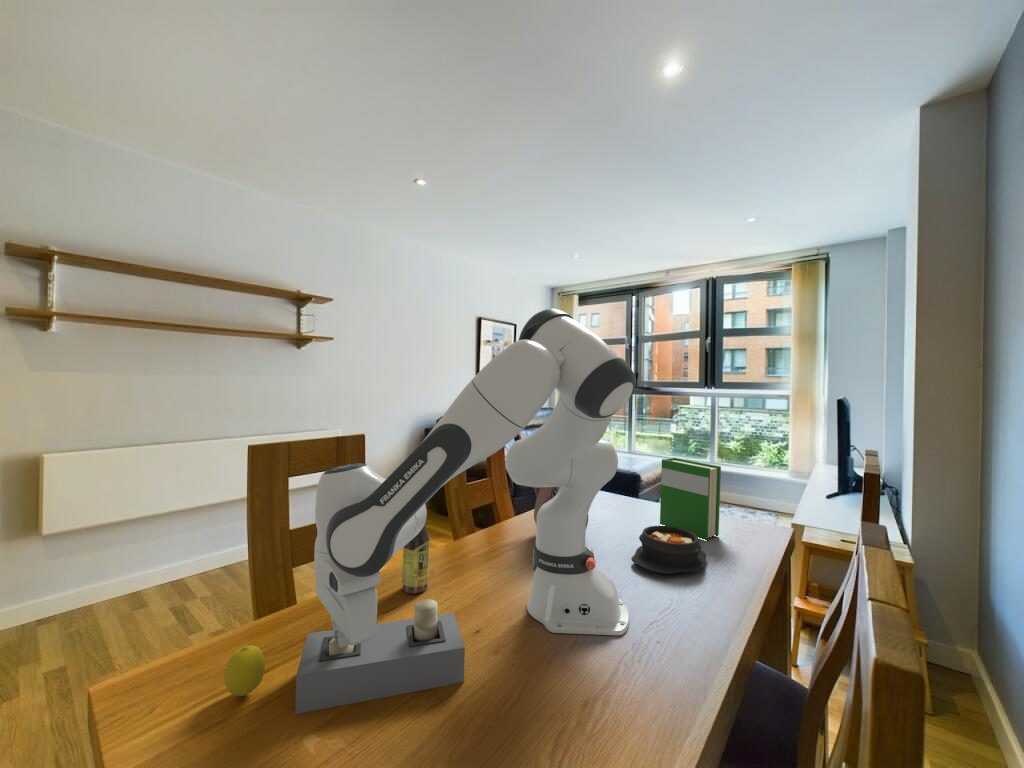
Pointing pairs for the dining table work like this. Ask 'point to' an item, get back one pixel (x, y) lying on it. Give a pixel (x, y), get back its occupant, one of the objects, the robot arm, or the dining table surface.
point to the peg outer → (336, 650)
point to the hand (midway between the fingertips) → (341, 642)
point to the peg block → (379, 665)
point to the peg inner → (425, 620)
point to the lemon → (244, 670)
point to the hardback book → (690, 496)
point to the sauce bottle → (416, 563)
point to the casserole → (669, 550)
